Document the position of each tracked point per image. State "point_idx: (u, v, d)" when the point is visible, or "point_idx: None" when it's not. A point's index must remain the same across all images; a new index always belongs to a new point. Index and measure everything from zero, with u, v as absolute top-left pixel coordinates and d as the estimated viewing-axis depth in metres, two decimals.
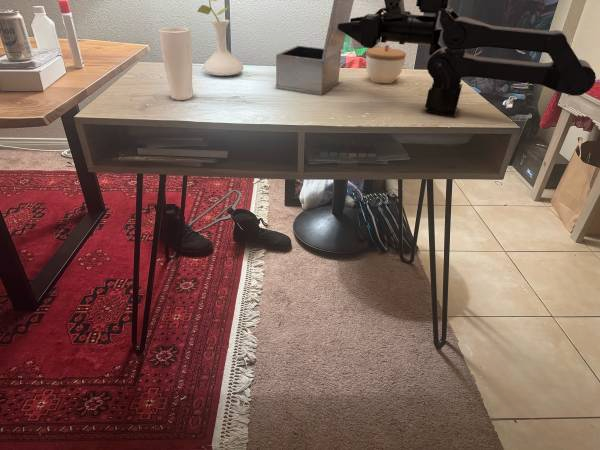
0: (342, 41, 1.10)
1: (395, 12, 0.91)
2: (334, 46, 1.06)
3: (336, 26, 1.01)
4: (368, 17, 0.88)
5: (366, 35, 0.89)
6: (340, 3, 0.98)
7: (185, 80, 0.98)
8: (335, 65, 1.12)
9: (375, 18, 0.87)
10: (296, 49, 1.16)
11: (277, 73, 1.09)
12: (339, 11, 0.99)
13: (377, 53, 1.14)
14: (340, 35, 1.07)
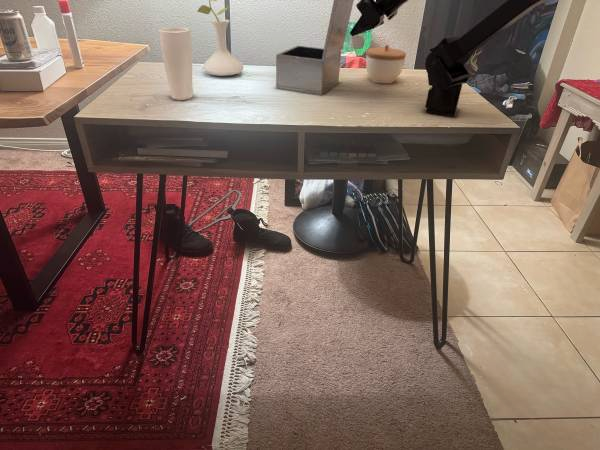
0: (342, 41, 1.10)
1: None
2: (334, 46, 1.06)
3: (336, 26, 1.01)
4: (358, 4, 0.92)
5: (367, 17, 0.92)
6: (340, 3, 0.98)
7: (185, 80, 0.98)
8: (335, 65, 1.12)
9: None
10: (296, 49, 1.16)
11: (277, 73, 1.09)
12: (339, 11, 0.99)
13: (377, 53, 1.14)
14: (340, 35, 1.07)
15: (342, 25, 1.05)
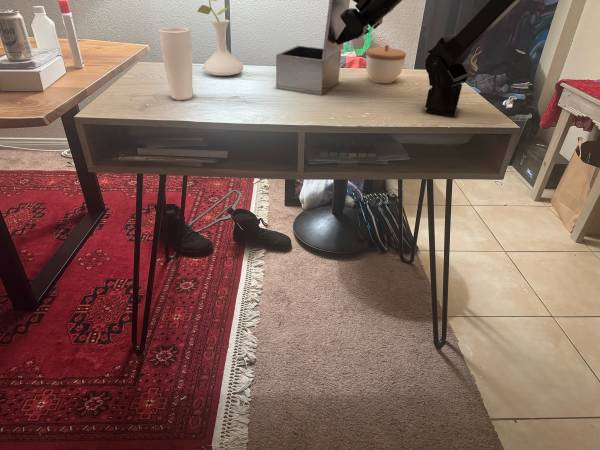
0: None
1: None
2: (333, 46, 1.06)
3: (334, 25, 1.02)
4: (342, 15, 0.94)
5: (351, 28, 0.94)
6: (336, 2, 0.98)
7: (185, 80, 0.98)
8: (335, 65, 1.12)
9: (347, 10, 0.93)
10: (296, 49, 1.16)
11: (277, 73, 1.09)
12: (336, 10, 1.00)
13: (377, 53, 1.14)
14: None
15: (340, 24, 1.06)
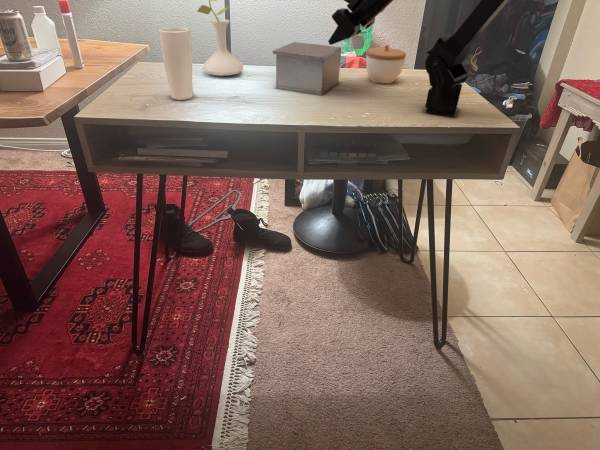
0: (330, 47, 1.12)
1: None
2: (323, 51, 1.07)
3: (302, 51, 1.08)
4: (333, 15, 0.95)
5: (342, 27, 0.95)
6: (283, 49, 1.08)
7: (185, 80, 0.98)
8: (335, 65, 1.12)
9: (338, 10, 0.94)
10: None
11: (277, 73, 1.09)
12: (290, 49, 1.08)
13: (377, 53, 1.14)
14: (320, 48, 1.11)
15: (311, 47, 1.11)
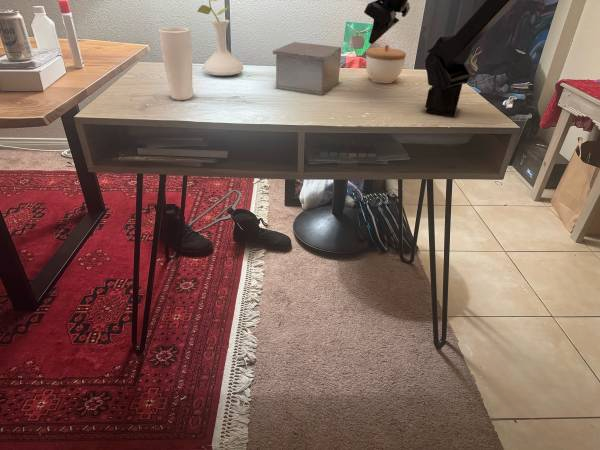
0: (330, 47, 1.12)
1: None
2: (323, 51, 1.07)
3: (302, 51, 1.08)
4: (365, 10, 0.93)
5: (378, 18, 0.93)
6: (283, 49, 1.08)
7: (185, 80, 0.98)
8: (335, 65, 1.12)
9: (369, 4, 0.92)
10: None
11: (277, 73, 1.09)
12: (290, 49, 1.08)
13: (377, 53, 1.14)
14: (320, 48, 1.11)
15: (311, 47, 1.11)
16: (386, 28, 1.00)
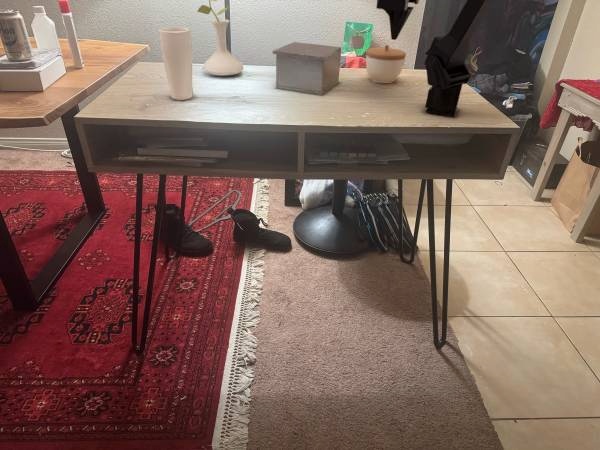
0: (330, 47, 1.12)
1: None
2: (323, 51, 1.07)
3: (302, 51, 1.08)
4: (377, 5, 0.93)
5: (392, 6, 0.92)
6: (283, 49, 1.08)
7: (185, 80, 0.98)
8: (335, 65, 1.12)
9: None
10: None
11: (277, 73, 1.09)
12: (290, 49, 1.08)
13: (377, 53, 1.14)
14: (320, 48, 1.11)
15: (311, 47, 1.11)
16: (404, 17, 0.99)
